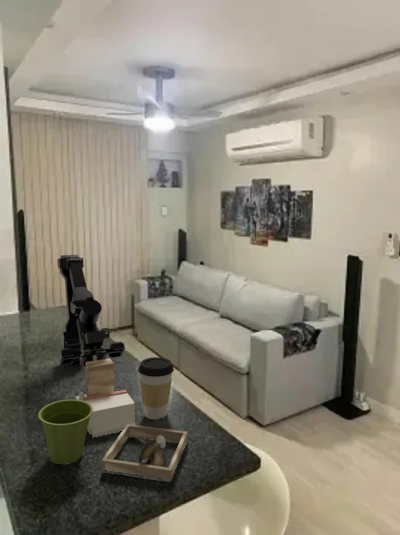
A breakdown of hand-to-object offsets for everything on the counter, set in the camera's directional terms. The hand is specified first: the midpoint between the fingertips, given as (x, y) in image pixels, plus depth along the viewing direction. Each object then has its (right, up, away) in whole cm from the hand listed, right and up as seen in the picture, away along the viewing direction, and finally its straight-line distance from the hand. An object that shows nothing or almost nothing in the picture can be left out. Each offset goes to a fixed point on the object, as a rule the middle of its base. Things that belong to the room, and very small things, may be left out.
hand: (97, 379), depth 122 cm
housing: (+3, -8, -5) cm, 10 cm away
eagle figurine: (+19, -12, -27) cm, 35 cm away
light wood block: (+1, -6, -1) cm, 6 cm away
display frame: (+17, -12, -24) cm, 32 cm away
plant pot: (-1, -11, -25) cm, 27 cm away
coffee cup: (+17, -9, -4) cm, 20 cm away
